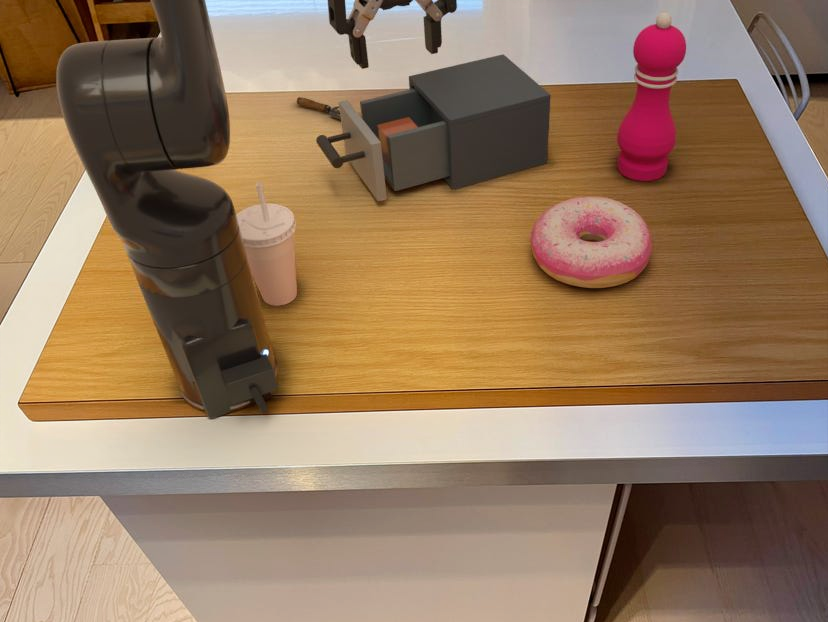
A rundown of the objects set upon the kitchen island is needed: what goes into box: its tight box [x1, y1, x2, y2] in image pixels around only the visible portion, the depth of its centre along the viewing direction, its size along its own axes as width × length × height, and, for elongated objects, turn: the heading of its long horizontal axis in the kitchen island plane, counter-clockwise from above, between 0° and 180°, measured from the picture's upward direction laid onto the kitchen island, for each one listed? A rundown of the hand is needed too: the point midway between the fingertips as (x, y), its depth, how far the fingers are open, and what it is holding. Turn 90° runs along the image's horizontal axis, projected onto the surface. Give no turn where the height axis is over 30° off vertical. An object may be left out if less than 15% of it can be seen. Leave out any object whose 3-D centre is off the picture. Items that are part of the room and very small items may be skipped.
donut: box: [530, 195, 653, 289], centre depth 91 cm, size 14×13×5 cm
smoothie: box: [236, 182, 298, 307], centre depth 84 cm, size 6×6×14 cm
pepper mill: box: [616, 11, 687, 182], centre depth 99 cm, size 7×7×20 cm
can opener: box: [296, 96, 341, 120], centre depth 117 cm, size 9×2×1 cm, turn 56°
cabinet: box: [408, 53, 552, 191], centre depth 105 cm, size 14×13×10 cm
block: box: [377, 117, 418, 168], centre depth 103 cm, size 4×4×4 cm
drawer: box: [315, 88, 450, 202], centre depth 102 cm, size 17×11×8 cm
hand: (397, 58), depth 95 cm, fingers open, 8 cm apart
